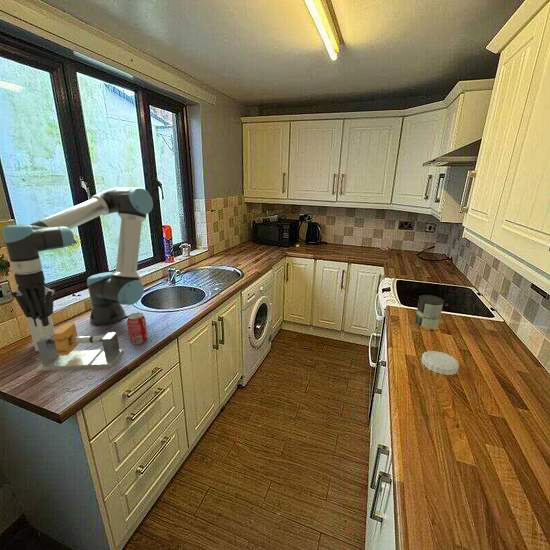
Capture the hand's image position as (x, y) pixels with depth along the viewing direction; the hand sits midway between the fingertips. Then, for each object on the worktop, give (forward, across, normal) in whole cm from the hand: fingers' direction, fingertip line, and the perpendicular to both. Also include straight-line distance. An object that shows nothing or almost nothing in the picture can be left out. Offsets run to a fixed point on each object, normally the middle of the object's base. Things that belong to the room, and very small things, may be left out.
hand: (44, 333), depth 103 cm
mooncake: (+12, +144, -15) cm, 145 cm away
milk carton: (+12, -10, +13) cm, 20 cm away
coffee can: (+12, +159, +16) cm, 160 cm away
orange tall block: (+7, +7, 0) cm, 10 cm away
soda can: (+12, +27, +13) cm, 32 cm away
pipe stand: (+12, +11, 0) cm, 16 cm away
